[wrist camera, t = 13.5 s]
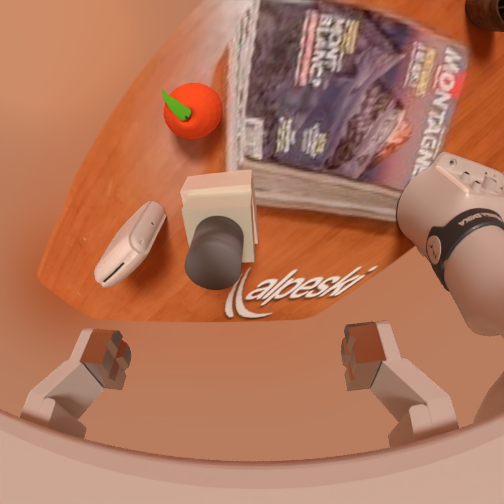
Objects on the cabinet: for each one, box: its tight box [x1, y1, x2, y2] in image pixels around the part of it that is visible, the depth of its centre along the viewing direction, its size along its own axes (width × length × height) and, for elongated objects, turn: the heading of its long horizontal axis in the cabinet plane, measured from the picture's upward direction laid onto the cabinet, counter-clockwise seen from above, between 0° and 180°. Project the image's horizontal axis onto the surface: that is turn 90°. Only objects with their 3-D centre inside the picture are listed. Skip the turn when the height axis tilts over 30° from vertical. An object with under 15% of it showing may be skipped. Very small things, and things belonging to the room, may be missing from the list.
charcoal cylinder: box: [185, 216, 244, 290], centre depth 35 cm, size 6×6×6 cm
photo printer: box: [94, 201, 166, 288], centre depth 42 cm, size 10×4×12 cm, turn 130°
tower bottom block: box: [180, 170, 258, 244], centre depth 42 cm, size 9×9×5 cm
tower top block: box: [182, 191, 255, 262], centre depth 39 cm, size 8×8×4 cm
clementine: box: [162, 83, 222, 139], centre depth 33 cm, size 8×7×7 cm
